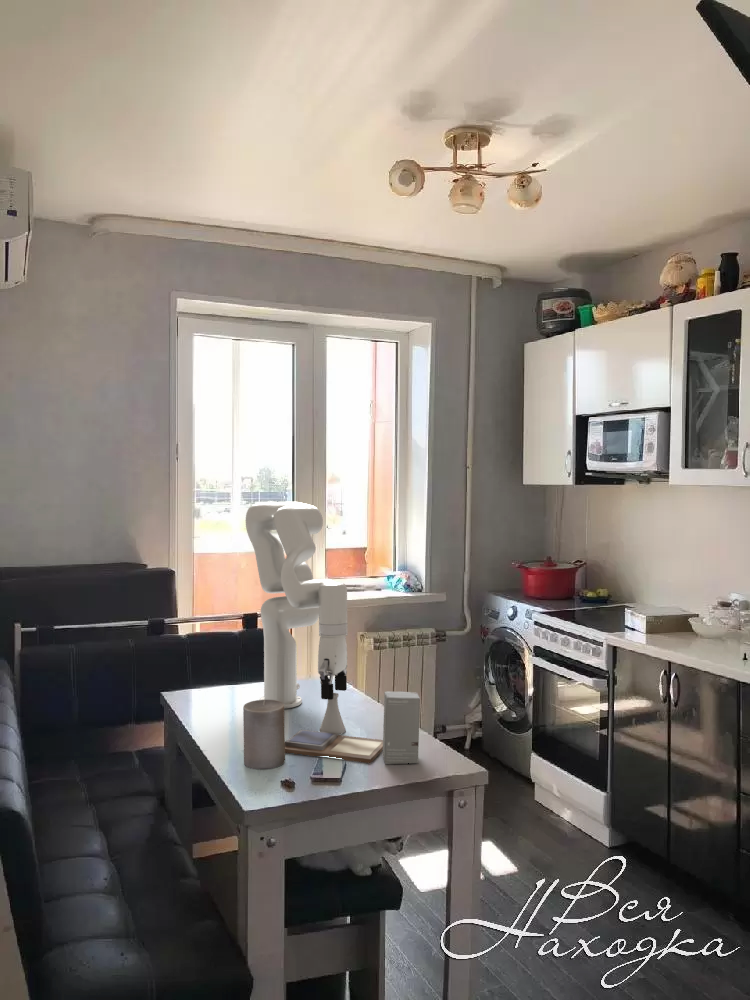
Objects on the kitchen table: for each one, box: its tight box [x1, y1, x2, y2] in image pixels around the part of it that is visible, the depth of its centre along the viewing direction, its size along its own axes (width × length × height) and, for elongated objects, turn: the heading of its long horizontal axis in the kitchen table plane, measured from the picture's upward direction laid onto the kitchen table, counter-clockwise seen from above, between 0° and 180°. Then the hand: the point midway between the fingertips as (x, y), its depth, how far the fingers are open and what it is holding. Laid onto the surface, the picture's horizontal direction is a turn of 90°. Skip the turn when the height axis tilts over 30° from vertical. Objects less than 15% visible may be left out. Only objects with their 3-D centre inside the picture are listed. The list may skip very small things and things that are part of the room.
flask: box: [319, 692, 346, 735], centre depth 215 cm, size 7×7×10 cm
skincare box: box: [382, 691, 421, 765], centre depth 194 cm, size 8×7×16 cm
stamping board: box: [285, 729, 383, 764], centre depth 202 cm, size 14×24×2 cm, turn 72°
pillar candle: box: [242, 699, 286, 770], centre depth 192 cm, size 10×10×15 cm
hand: (334, 694), depth 214 cm, fingers open, 9 cm apart
